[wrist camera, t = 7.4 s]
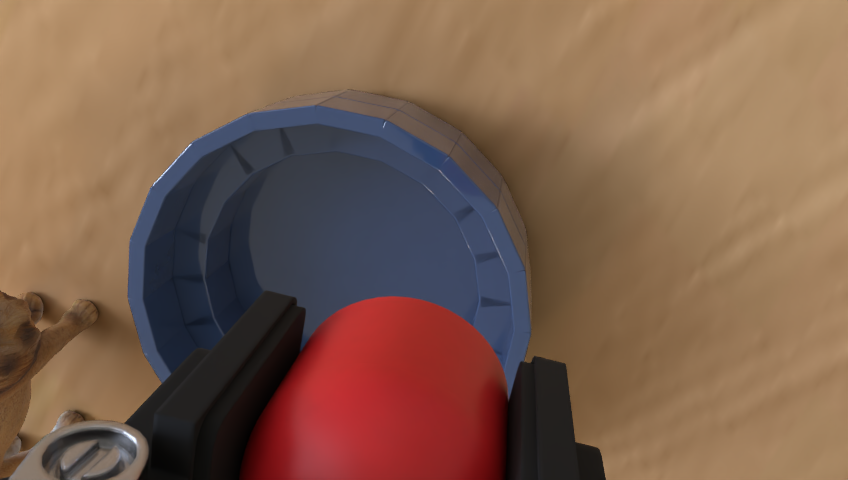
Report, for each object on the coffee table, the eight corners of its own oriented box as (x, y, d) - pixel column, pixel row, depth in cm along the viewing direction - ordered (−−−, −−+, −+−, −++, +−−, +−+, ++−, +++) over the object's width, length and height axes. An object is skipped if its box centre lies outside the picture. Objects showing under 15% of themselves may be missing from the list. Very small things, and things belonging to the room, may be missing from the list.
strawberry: (532, 325, 11) (538, 519, 7) (481, 504, 13) (459, 759, 8) (313, 271, 12) (190, 429, 7) (285, 453, 13) (166, 676, 9)
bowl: (568, 131, 25) (577, 159, 21) (488, 446, 30) (480, 526, 26) (205, 56, 26) (134, 66, 22) (183, 371, 31) (122, 435, 27)
